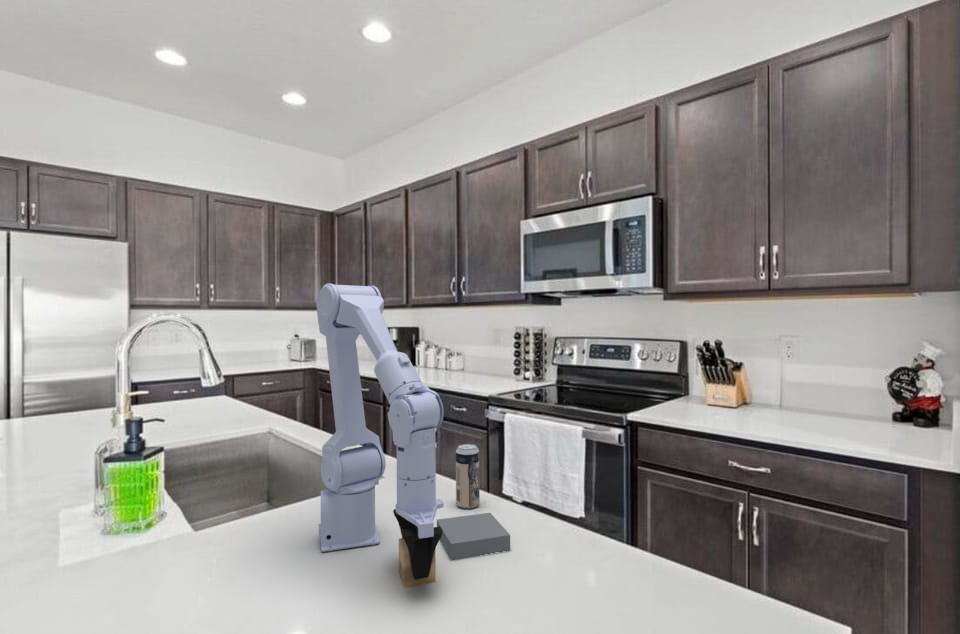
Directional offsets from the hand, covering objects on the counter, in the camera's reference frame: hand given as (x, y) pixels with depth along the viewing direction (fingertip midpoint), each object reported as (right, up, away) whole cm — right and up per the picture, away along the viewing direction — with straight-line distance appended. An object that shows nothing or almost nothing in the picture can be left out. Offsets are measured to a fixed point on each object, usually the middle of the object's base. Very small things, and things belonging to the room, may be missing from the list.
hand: (416, 566), depth 72 cm
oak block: (0, -2, 0) cm, 2 cm away
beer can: (+7, -2, +27) cm, 28 cm away
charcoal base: (+8, -2, +11) cm, 14 cm away
